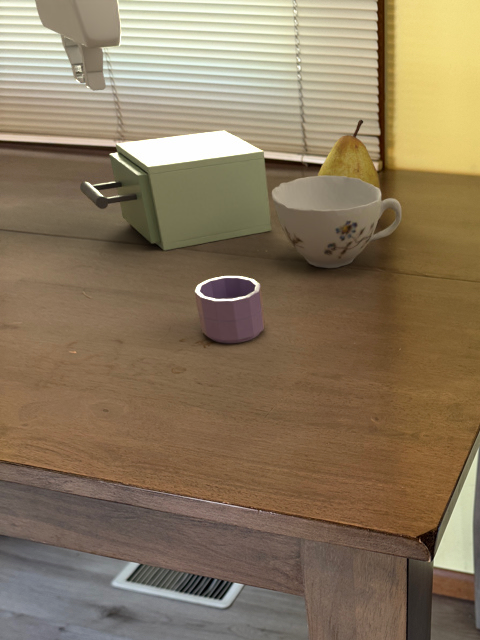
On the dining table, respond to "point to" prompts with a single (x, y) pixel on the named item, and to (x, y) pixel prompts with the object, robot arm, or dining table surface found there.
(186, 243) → the cabinet
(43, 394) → the dining table surface
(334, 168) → the fruit
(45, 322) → the dining table surface
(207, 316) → the bowl
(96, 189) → the drawer
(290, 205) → the teacup
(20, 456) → the dining table surface
